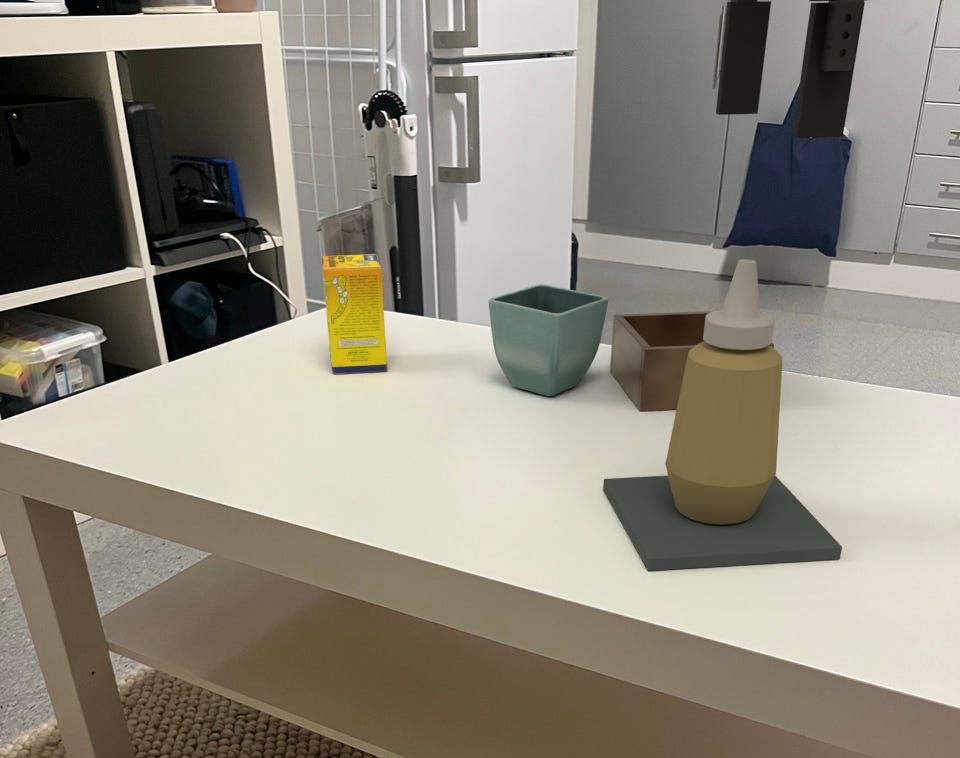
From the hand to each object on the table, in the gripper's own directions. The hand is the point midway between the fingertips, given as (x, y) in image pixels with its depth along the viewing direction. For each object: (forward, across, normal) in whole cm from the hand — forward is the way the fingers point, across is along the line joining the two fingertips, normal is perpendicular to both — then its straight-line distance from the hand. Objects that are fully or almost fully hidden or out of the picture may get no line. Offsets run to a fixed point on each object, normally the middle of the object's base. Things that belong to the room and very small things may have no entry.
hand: (773, 125), depth 64 cm
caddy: (+27, -30, +6) cm, 41 cm away
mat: (+27, +1, -1) cm, 27 cm away
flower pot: (+27, -32, -8) cm, 43 cm away
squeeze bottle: (+26, +1, -1) cm, 26 cm away
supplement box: (+27, -42, -27) cm, 57 cm away
